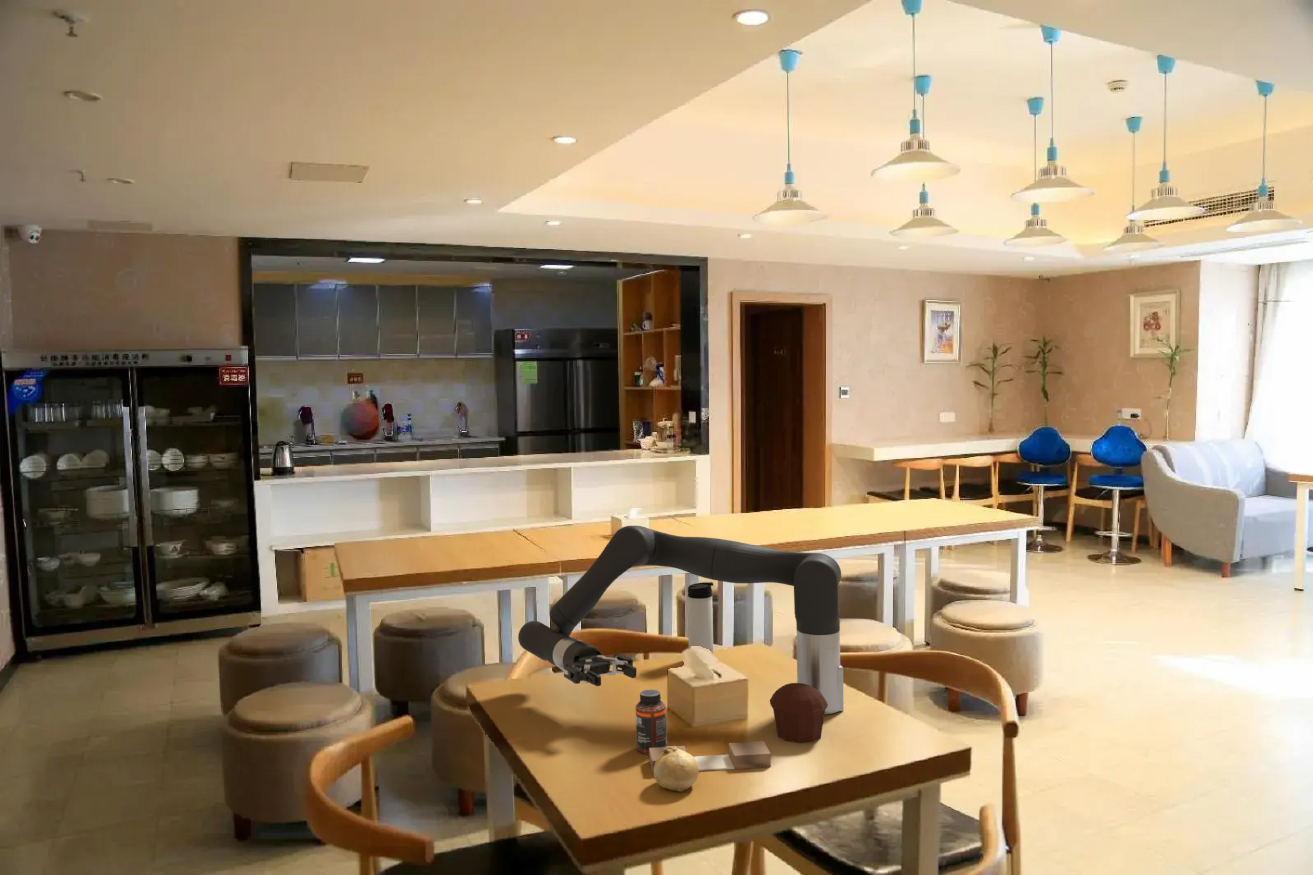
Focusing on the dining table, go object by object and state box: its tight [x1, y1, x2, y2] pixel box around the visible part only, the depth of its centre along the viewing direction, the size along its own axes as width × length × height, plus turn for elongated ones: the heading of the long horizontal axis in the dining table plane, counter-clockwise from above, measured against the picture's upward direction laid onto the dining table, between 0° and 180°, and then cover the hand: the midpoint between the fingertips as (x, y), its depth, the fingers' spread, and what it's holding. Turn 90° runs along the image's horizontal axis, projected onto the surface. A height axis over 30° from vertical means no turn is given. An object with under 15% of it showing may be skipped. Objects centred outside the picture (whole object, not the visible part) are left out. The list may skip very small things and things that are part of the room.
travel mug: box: [687, 581, 714, 654], centre depth 239 cm, size 6×7×20 cm
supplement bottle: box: [635, 688, 668, 755], centre depth 182 cm, size 6×6×11 cm
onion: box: [653, 745, 700, 793], centre depth 166 cm, size 8×8×7 cm
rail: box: [648, 740, 772, 775], centre depth 175 cm, size 22×6×2 cm, turn 96°
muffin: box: [769, 682, 828, 744], centre depth 188 cm, size 12×11×10 cm
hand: (617, 677), depth 191 cm, fingers open, 8 cm apart
